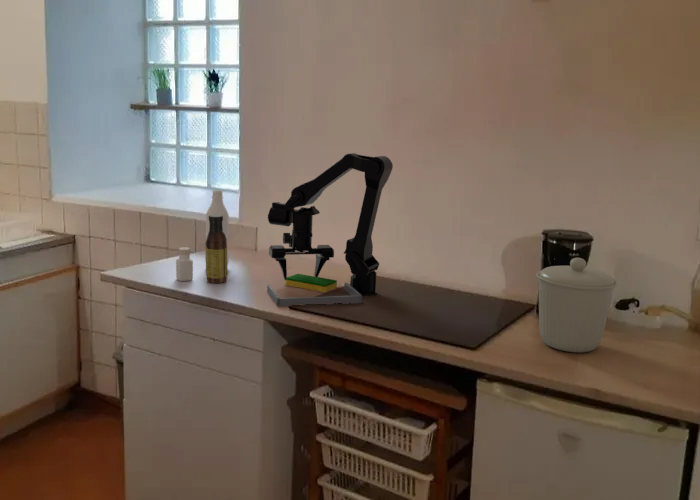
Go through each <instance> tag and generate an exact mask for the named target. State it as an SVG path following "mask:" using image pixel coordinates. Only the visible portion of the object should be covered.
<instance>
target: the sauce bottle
mask: <svg viewBox="0 0 700 500" xmlns="http://www.w3.org/2000/svg"><path fill="white" fill-rule="evenodd" d="M222 221H223V216H222V215H218V214H215V215H209V223H210V224H209V225H210V228H209V233H208V237H207V240H206V239H205V240H206V241H205V243H204V244H205V257H206V260H205V276H206V281H207V282H208V283H212V284H223V283H225V282H227V280H228V265H227V252H228V241H227V239H226V236H225V234H224V233H223V231H222V230H223V228H222Z"/></svg>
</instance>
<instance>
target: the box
mask: <svg viewBox="0 0 700 500" xmlns="http://www.w3.org/2000/svg"><path fill="white" fill-rule="evenodd" d="M343 288H344V291H345V292H346V293H348V294H349V295H332V296H302V297H281V298H280V296H279V295H278V294H277V292H276V291H275V289H274V288H273V287H272V286H271V284H267V287H266V289H267V290H266V292H267V294H268V296H269V297H270V298H271V300H272V302H274V304H275V305H276V307H292V306H291V305H299V304H324V303H332V304H331V305H338V304H337V303H342V304H341V305H344V304H345V305H347V304H349V303H351V304H363V297H364V295H361V294H360V293H359V292H357V291H356V290H355V289H354V288H353V287H352V286H350V283H348V282H344V287H343ZM334 303H336V304H334Z"/></svg>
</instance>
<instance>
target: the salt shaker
mask: <svg viewBox="0 0 700 500" xmlns="http://www.w3.org/2000/svg"><path fill="white" fill-rule="evenodd" d="M190 255H191V248H190V247H183V246H182V247H179V248H178V258H177V259H176V260H175V264H176V265H175V269H176V270H175V271H176V273H175V277H176V279H177V280H178V281H179V282H189V281H193V278H194V277H193V275H194V273H193V271H194V266H193V265H194V263H193V259H192V258H191V257H190Z"/></svg>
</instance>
